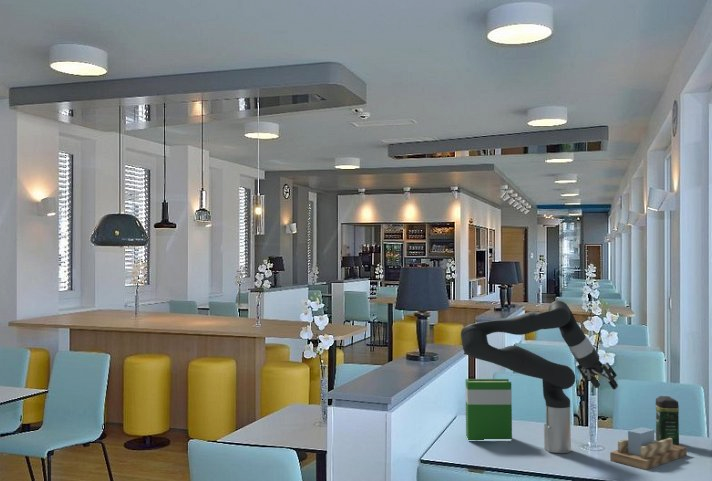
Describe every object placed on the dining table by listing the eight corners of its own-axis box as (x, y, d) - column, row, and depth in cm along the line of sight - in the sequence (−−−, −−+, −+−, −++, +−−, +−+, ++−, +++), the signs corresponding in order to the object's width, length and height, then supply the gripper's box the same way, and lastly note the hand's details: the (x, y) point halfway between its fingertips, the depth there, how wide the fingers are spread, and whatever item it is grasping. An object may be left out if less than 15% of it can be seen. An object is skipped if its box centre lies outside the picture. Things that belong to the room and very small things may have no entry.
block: (641, 456, 252) (640, 433, 252) (628, 452, 256) (628, 430, 256) (654, 451, 258) (654, 429, 258) (641, 448, 262) (641, 427, 262)
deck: (646, 469, 246) (645, 449, 246) (610, 460, 257) (610, 441, 257) (686, 455, 263) (686, 436, 263) (651, 447, 274) (651, 429, 274)
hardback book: (508, 436, 291) (508, 379, 291) (512, 441, 283) (511, 382, 284) (466, 436, 292) (465, 379, 292) (468, 441, 284) (467, 382, 285)
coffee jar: (681, 447, 273) (681, 399, 273) (660, 446, 274) (659, 399, 275) (674, 441, 283) (673, 394, 283) (653, 440, 284) (653, 394, 284)
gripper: (563, 357, 252) (586, 393, 254) (591, 357, 239) (615, 395, 241) (575, 344, 255) (598, 379, 257) (604, 344, 242) (628, 381, 244)
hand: (606, 387), depth 249 cm, fingers open, 8 cm apart
